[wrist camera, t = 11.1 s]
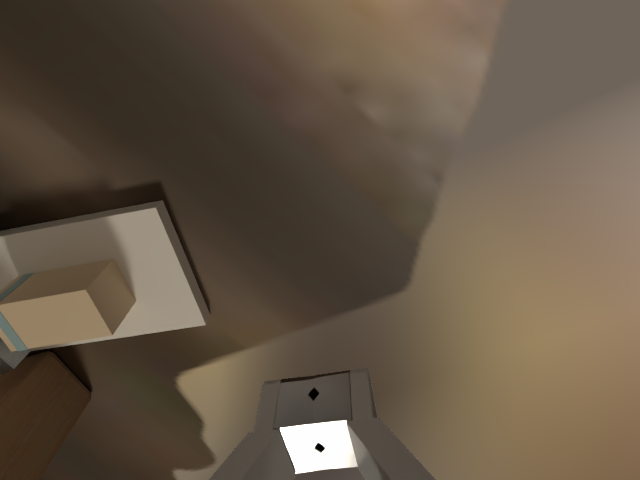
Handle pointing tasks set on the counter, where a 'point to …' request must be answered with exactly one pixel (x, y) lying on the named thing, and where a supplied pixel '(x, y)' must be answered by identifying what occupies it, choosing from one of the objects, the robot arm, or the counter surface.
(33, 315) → the carton
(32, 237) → the white tray
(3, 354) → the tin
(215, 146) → the counter surface
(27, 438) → the wooden block
